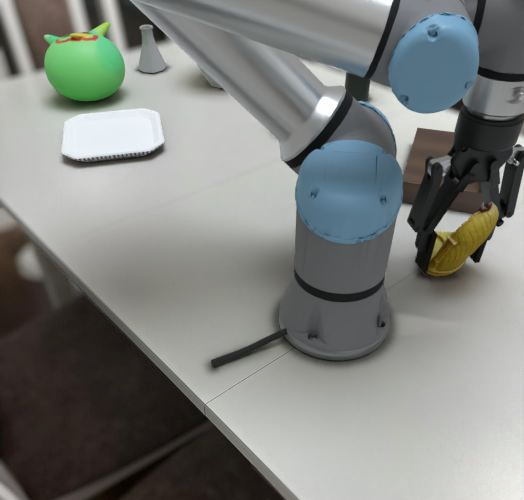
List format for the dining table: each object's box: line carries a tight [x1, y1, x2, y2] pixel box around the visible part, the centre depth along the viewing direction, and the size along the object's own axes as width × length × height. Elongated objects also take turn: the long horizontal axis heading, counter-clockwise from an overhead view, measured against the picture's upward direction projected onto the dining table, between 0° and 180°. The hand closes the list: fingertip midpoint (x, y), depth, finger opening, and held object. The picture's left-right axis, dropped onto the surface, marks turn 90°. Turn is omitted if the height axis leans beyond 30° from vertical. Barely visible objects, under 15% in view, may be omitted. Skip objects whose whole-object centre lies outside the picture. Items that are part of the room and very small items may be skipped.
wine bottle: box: [344, 72, 371, 103], centre depth 115 cm, size 6×6×30 cm
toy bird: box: [43, 21, 126, 102], centre depth 123 cm, size 18×17×15 cm
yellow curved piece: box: [416, 201, 499, 278], centre depth 76 cm, size 12×8×15 cm
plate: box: [60, 107, 166, 163], centre depth 112 cm, size 21×21×2 cm
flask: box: [137, 24, 168, 74], centre depth 137 cm, size 7×7×10 cm
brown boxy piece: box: [402, 127, 483, 214], centre depth 98 cm, size 22×14×7 cm, turn 162°
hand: (447, 261), depth 80 cm, fingers closed on yellow curved piece, 8 cm apart
